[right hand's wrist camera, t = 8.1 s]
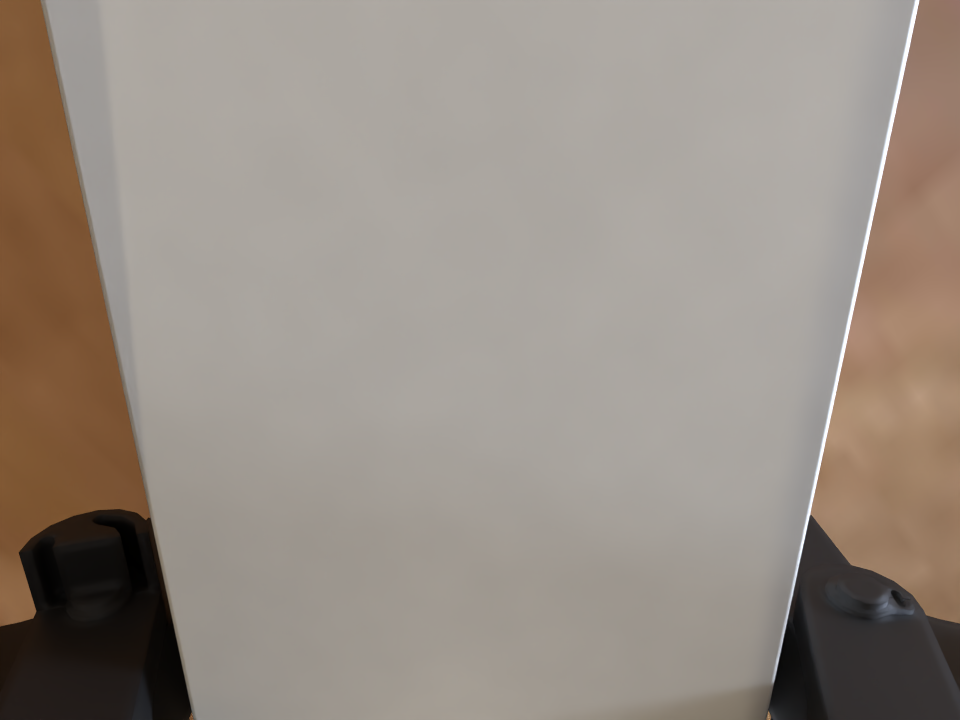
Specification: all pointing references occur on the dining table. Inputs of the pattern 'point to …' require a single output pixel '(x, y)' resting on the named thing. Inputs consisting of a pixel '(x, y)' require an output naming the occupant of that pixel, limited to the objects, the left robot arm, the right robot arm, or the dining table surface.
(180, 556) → the post
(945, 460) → the dining table surface
